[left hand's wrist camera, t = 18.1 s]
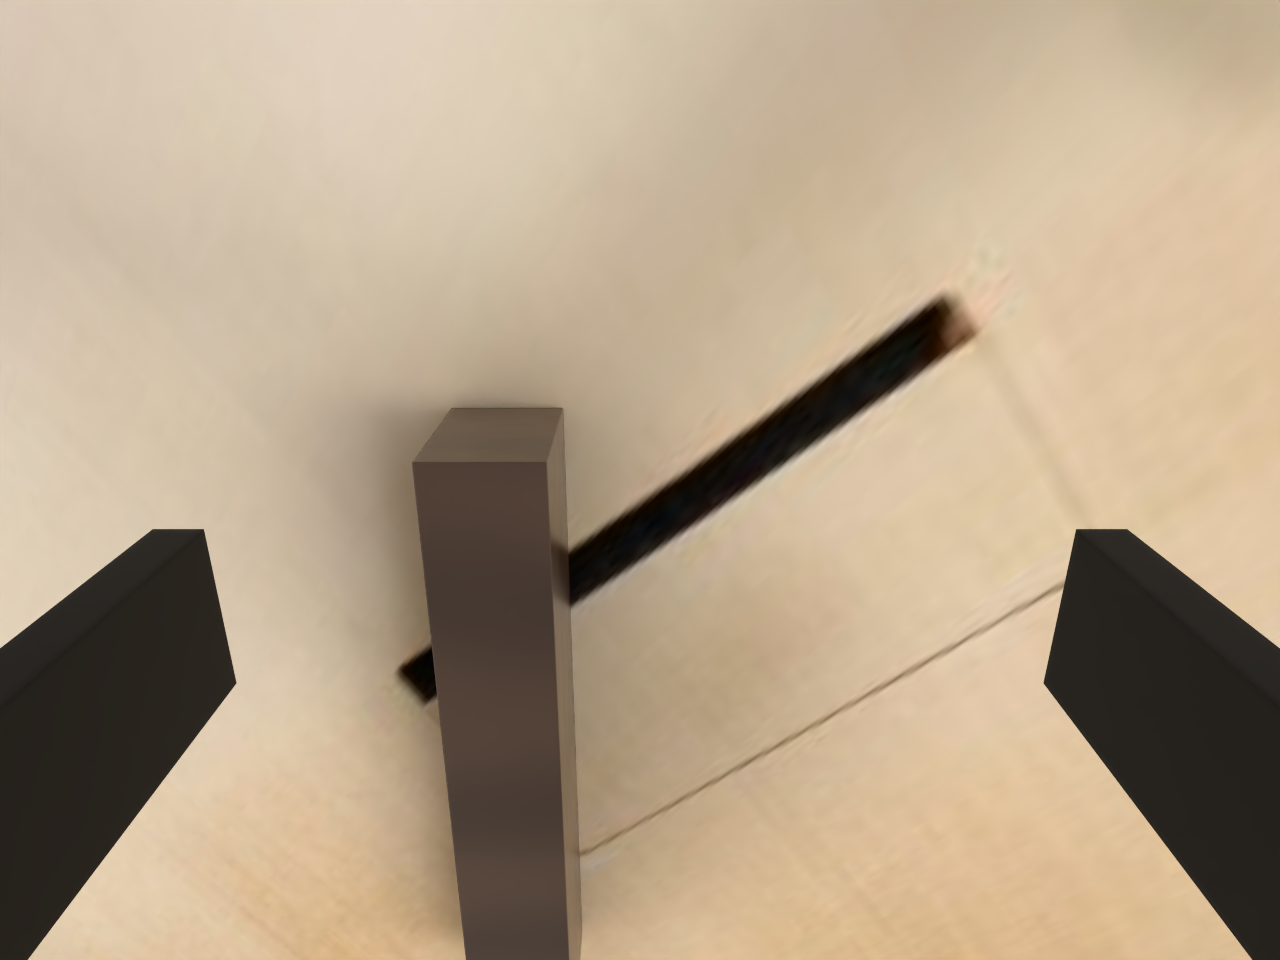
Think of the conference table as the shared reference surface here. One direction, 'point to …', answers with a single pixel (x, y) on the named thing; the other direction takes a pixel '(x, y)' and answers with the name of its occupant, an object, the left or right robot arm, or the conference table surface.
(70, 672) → the left robot arm
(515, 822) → the plank
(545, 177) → the conference table surface
